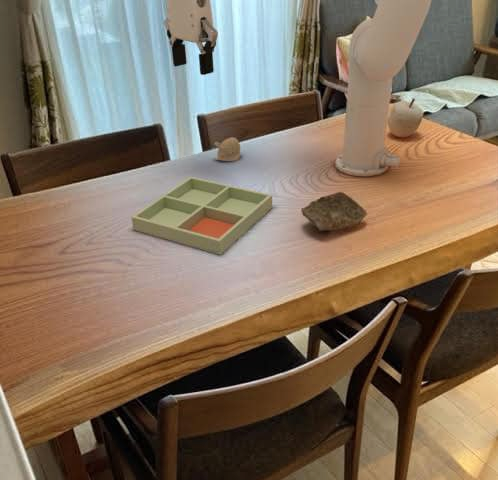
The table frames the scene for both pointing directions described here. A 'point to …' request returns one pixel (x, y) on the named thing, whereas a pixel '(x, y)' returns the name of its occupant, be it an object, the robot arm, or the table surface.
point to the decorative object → (404, 118)
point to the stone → (334, 212)
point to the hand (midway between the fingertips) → (193, 69)
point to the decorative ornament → (228, 150)
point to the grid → (203, 214)
